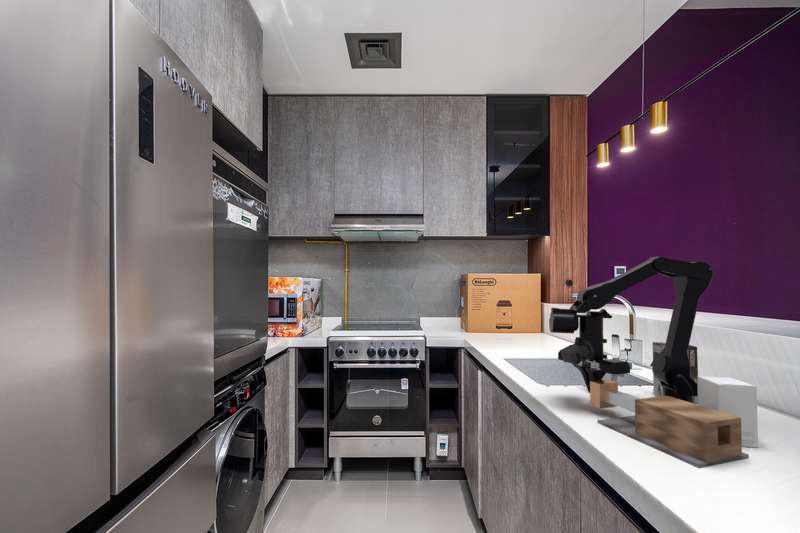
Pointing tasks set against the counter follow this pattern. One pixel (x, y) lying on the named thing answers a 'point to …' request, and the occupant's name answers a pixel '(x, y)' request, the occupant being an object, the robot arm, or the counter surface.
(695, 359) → the coffee box
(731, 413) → the supplement box
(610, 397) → the shaft
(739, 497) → the counter surface
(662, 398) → the housing
